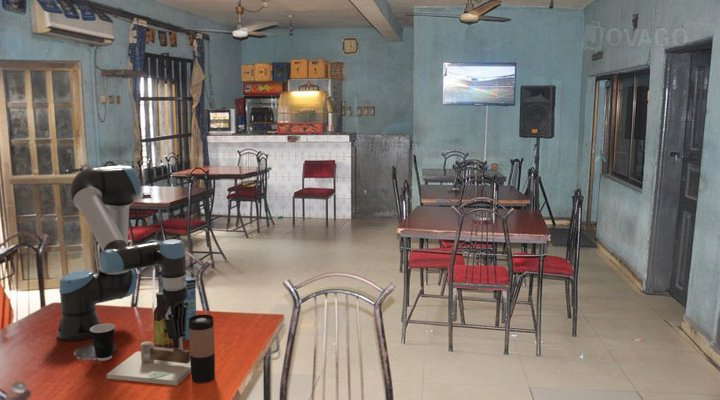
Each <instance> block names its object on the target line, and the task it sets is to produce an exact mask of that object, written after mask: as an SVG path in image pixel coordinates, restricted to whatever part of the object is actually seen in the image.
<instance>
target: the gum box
mask: <svg viewBox="0 0 720 400" xmlns="http://www.w3.org/2000/svg"><path fill="white" fill-rule="evenodd" d="M157 277H158V280H157V281H158V292H163V289H164V288H162V271H161V270H157ZM186 278H187V281H186V286H185V287H186V288H187V298H186V299H185V300H184V302H188V307H187V316H186V331H185V332H183V334H185V336H182V340H183V341H185V342H189V318H191V317H193V316H196V315H197V290H196V286H197V285H196V281H197V279H196V278H194V277H191V276H188V275H186Z"/></svg>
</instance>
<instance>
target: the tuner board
mask: <svg viewBox="0 0 720 400" xmlns="http://www.w3.org/2000/svg"><path fill="white" fill-rule="evenodd" d="M189 374H191V363H190V361H189V362H188V363H187V364H186V363H178V362H170V361H161V360H154V361H153V362H151V363H142V362H141V350H140V351H136V352H134V353H133V354H132V355H130V356H129V357H128V358H126V359H125V360H124V361H122V362H120V363H119V364H118V365H116V366H115V367H114V368H113V369H112V370H110V371H109V372H107V373H106V379H108V380H116V381H128V382H138V383H139V382H140V383H150V384H157V385H158V384H159V385H168V386H169V385H171V386H178V385H179V384H180V383H181V382H182V381H183V380H184V379H185V378H186V377H187V376H189Z"/></svg>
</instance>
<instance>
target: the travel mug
mask: <svg viewBox="0 0 720 400" xmlns="http://www.w3.org/2000/svg"><path fill="white" fill-rule="evenodd" d="M214 326H215V325H214V316H212V315H210V314H198V315H197V314H196V316H193V317H191V318H189V340H188V343H189V351H190V363H191V372H190V374H191V381H192V382H193V383H195V384H206V383H210V382H212V381H213V380H215V377H216V369H215V368H216V360H215V359H216V351H215V349H216V347H215V327H214Z"/></svg>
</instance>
